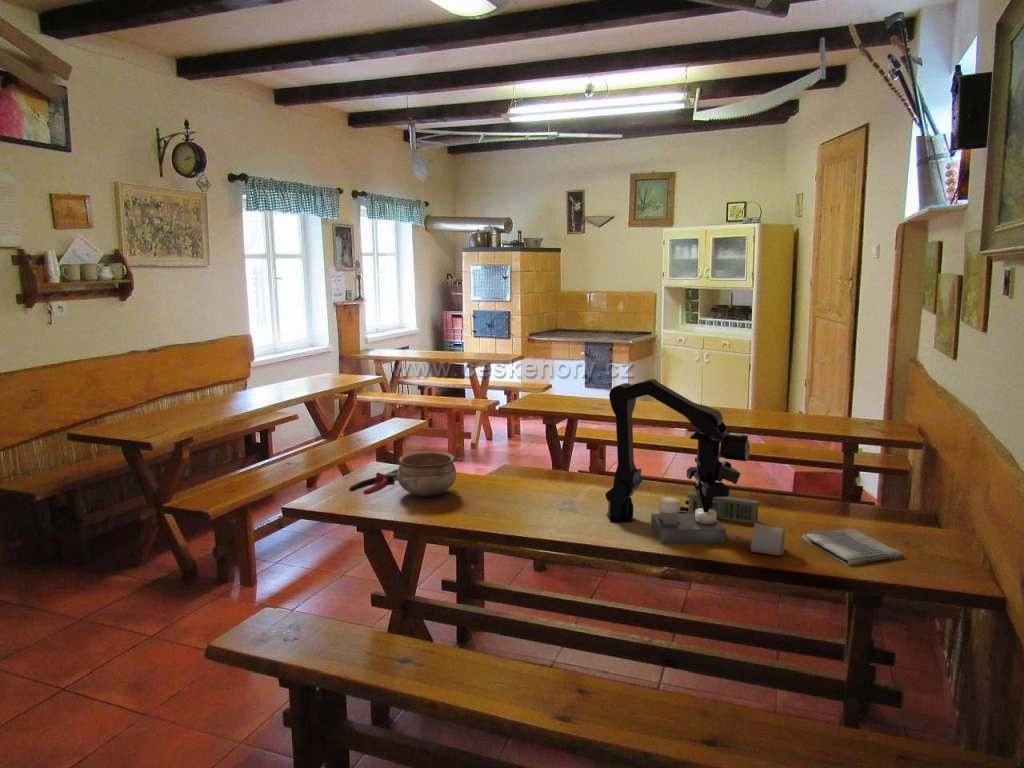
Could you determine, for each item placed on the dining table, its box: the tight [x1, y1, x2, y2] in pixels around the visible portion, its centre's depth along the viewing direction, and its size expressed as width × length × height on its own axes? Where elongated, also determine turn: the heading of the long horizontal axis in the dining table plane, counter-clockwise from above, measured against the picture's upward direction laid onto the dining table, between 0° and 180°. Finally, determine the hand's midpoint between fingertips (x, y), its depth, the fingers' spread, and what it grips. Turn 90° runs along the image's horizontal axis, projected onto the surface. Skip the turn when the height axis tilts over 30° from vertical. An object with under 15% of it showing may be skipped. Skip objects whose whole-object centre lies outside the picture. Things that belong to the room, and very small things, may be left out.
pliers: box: [348, 468, 399, 495], centre depth 237 cm, size 3×9×22 cm
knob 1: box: [658, 497, 682, 525], centre depth 189 cm, size 6×6×6 cm
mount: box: [650, 512, 726, 545], centre depth 190 cm, size 17×12×4 cm
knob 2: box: [695, 508, 717, 524], centre depth 190 cm, size 6×6×6 cm
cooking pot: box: [396, 450, 457, 499], centre depth 224 cm, size 25×19×12 cm
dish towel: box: [801, 528, 905, 567], centre depth 181 cm, size 19×18×3 cm
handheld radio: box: [680, 491, 760, 525], centre depth 204 cm, size 7×3×25 cm
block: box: [750, 522, 786, 556], centre depth 179 cm, size 10×8×7 cm
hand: (705, 511), depth 189 cm, fingers closed, pressing on knob 2
